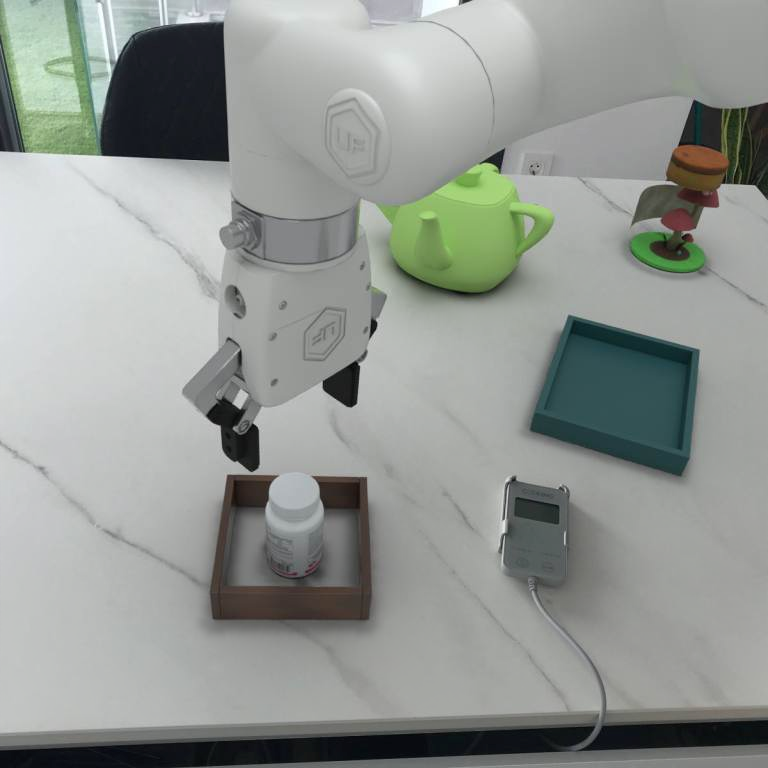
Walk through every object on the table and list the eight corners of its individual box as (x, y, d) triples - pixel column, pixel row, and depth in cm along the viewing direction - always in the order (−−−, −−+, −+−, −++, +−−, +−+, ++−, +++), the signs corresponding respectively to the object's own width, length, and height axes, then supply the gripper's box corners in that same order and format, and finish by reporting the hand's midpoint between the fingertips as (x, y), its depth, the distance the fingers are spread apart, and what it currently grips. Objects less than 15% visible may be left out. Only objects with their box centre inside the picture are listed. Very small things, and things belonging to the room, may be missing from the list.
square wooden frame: (364, 502, 72) (367, 476, 69) (368, 620, 62) (371, 594, 60) (229, 500, 71) (227, 474, 68) (212, 619, 61) (209, 593, 59)
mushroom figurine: (730, 267, 111) (771, 169, 102) (658, 279, 107) (695, 178, 97) (678, 228, 119) (711, 133, 110) (610, 238, 115) (639, 140, 106)
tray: (681, 476, 78) (689, 458, 76) (529, 430, 81) (534, 411, 80) (692, 366, 92) (700, 349, 90) (563, 331, 96) (568, 314, 94)
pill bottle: (313, 529, 69) (314, 462, 63) (329, 571, 66) (333, 504, 60) (260, 541, 67) (257, 475, 62) (274, 585, 64) (273, 519, 59)
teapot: (490, 227, 115) (507, 133, 106) (546, 303, 100) (573, 201, 91) (367, 236, 110) (375, 138, 101) (409, 316, 95) (421, 210, 86)
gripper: (220, 299, 39) (233, 519, 50) (436, 199, 49) (407, 400, 60) (132, 240, 42) (163, 458, 53) (351, 158, 53) (339, 355, 64)
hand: (292, 427), depth 57 cm, fingers open, 9 cm apart
